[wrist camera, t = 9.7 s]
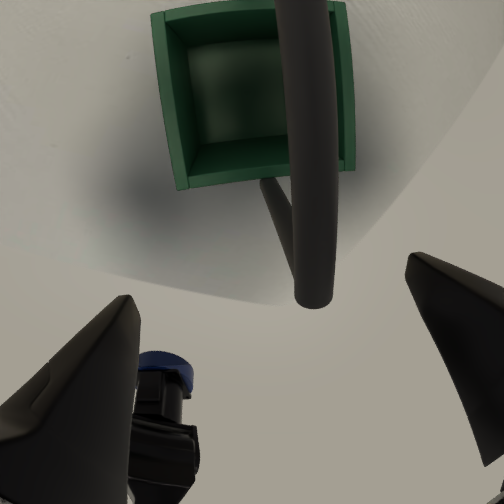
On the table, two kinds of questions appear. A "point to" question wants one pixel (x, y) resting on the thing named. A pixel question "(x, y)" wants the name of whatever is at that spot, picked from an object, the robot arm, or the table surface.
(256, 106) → the pail
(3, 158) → the table surface
